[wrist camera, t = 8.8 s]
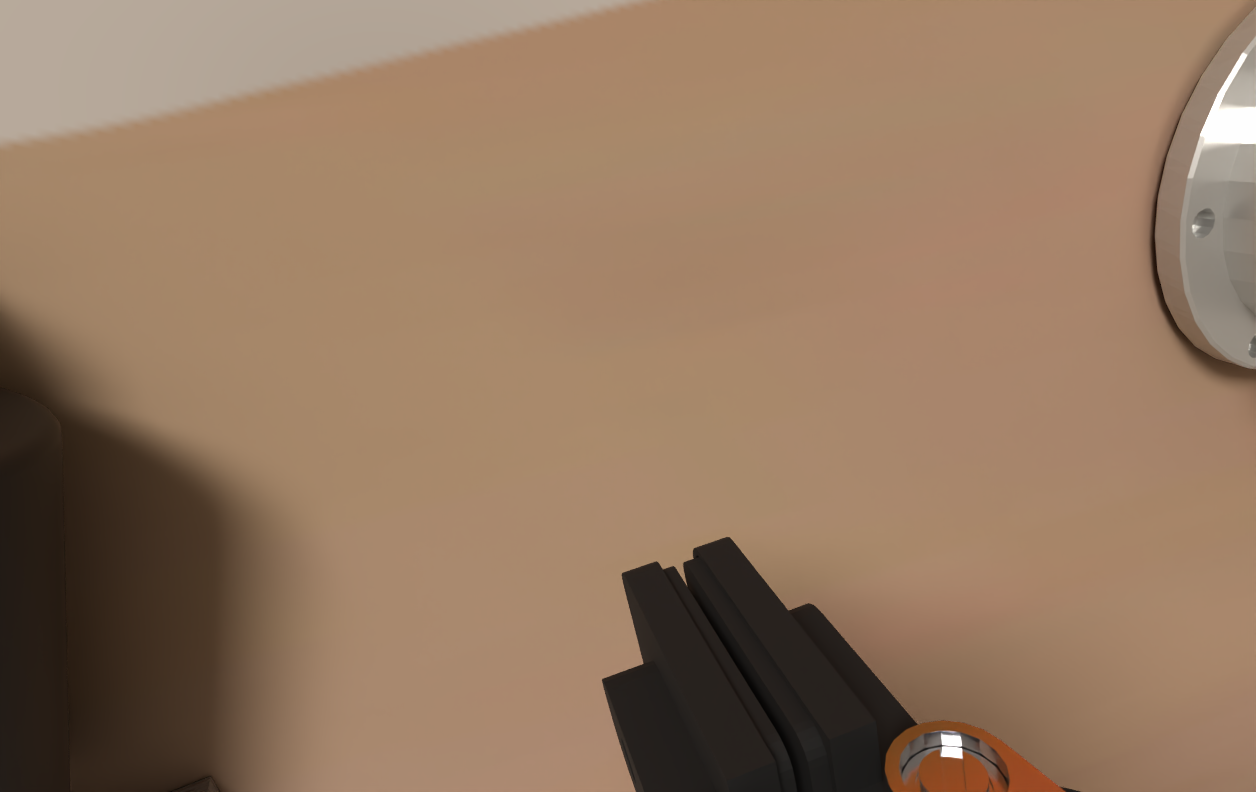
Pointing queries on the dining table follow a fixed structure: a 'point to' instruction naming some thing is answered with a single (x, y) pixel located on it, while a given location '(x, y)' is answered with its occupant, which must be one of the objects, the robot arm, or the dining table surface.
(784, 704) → the robot arm
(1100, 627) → the dining table surface
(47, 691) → the end cap
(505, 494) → the dining table surface
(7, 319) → the dining table surface
